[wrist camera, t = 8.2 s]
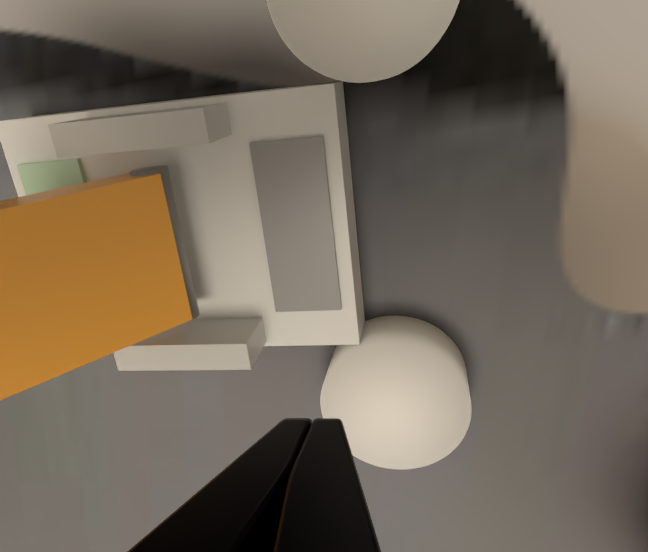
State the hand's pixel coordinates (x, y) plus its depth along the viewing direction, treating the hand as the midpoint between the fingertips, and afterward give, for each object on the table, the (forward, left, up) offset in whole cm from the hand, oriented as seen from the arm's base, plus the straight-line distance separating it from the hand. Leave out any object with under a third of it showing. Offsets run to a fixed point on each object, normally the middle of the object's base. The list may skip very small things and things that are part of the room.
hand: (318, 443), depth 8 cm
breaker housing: (+7, 0, -13) cm, 15 cm away
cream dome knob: (0, +7, -13) cm, 15 cm away
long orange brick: (+7, 0, -10) cm, 12 cm away
